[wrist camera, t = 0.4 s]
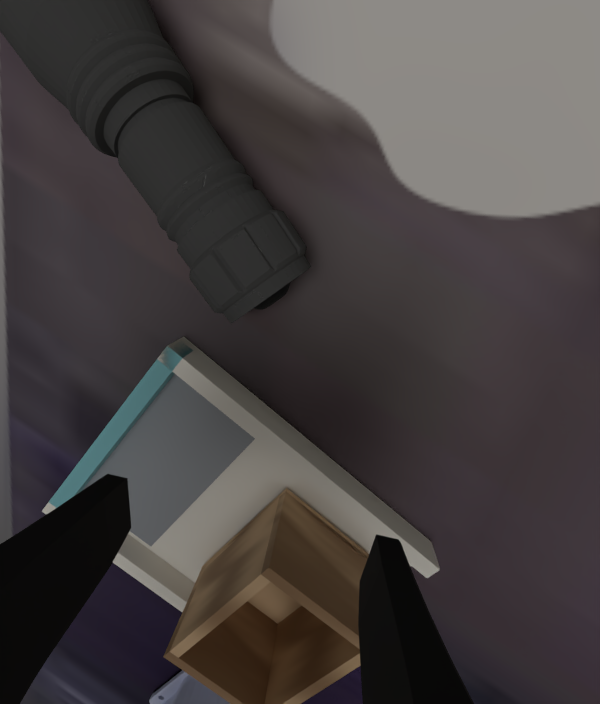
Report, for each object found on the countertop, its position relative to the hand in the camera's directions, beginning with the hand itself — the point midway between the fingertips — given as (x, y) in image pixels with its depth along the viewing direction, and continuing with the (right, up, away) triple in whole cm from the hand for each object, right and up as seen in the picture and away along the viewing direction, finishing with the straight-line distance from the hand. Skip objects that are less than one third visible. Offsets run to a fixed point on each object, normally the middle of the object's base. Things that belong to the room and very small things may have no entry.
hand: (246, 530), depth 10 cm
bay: (-3, -6, +13) cm, 15 cm away
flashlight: (-4, +15, +8) cm, 17 cm away
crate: (0, -9, +13) cm, 15 cm away
